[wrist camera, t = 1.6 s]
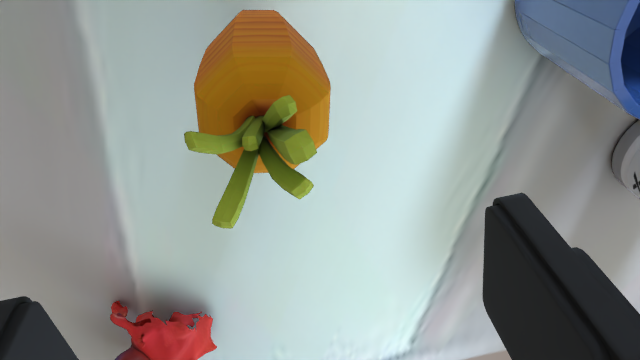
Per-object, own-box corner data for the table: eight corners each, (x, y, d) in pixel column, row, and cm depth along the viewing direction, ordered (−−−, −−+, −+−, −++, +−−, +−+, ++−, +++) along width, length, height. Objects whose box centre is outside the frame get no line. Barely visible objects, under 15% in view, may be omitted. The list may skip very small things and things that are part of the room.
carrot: (235, 86, 27) (226, 283, 15) (190, -1, 24) (133, 151, 12) (319, 51, 27) (383, 224, 14) (283, -42, 24) (324, 74, 12)
